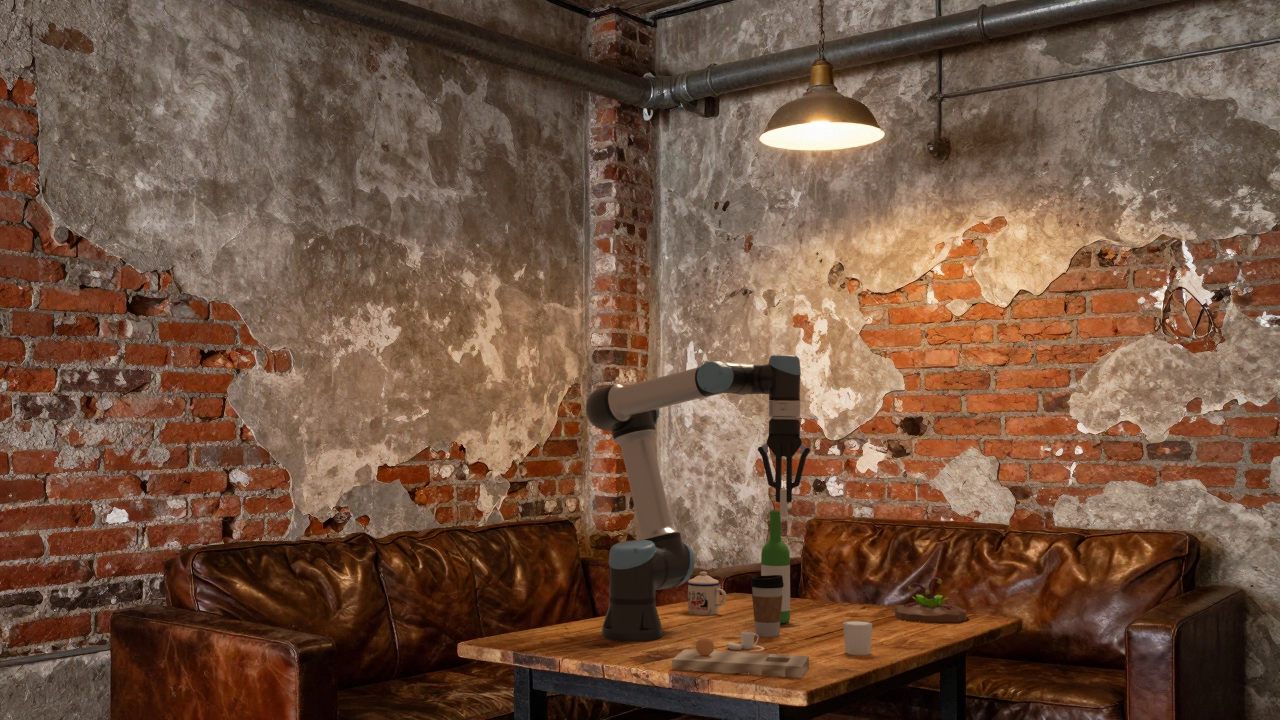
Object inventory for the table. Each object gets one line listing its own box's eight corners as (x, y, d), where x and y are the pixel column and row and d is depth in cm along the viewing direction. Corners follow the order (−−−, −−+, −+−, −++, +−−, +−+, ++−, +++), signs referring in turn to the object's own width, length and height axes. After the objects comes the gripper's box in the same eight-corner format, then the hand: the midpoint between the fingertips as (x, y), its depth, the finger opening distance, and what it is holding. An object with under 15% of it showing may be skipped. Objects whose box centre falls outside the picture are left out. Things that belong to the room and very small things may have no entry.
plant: (970, 625, 312) (970, 583, 313) (896, 622, 316) (896, 581, 316) (963, 613, 332) (962, 573, 333) (893, 611, 336) (893, 572, 336)
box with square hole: (672, 671, 250) (672, 659, 250) (684, 660, 261) (684, 649, 261) (801, 678, 242) (801, 666, 243) (808, 667, 254) (808, 655, 254)
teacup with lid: (681, 613, 327) (681, 572, 328) (698, 609, 335) (698, 569, 336) (717, 617, 320) (717, 575, 321) (734, 613, 328) (734, 572, 329)
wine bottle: (776, 618, 319) (775, 509, 321) (796, 622, 313) (795, 511, 315) (755, 621, 315) (755, 510, 317) (775, 625, 309) (775, 512, 310)
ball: (694, 656, 253) (694, 638, 253) (698, 653, 257) (698, 635, 257) (712, 657, 252) (712, 639, 252) (715, 654, 256) (715, 636, 256)
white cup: (852, 649, 276) (851, 619, 276) (878, 652, 271) (877, 622, 272) (837, 653, 270) (837, 623, 271) (863, 657, 266) (863, 626, 266)
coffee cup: (782, 638, 289) (782, 578, 289) (748, 637, 290) (748, 577, 291) (785, 633, 297) (785, 574, 298) (752, 631, 298) (752, 573, 299)
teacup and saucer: (725, 653, 272) (725, 635, 272) (728, 646, 280) (728, 629, 280) (763, 654, 271) (763, 636, 271) (765, 647, 278) (765, 630, 279)
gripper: (755, 418, 279) (754, 516, 278) (810, 418, 276) (809, 518, 275) (759, 418, 286) (758, 514, 285) (812, 418, 283) (811, 515, 282)
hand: (783, 516), depth 280 cm, fingers closed
